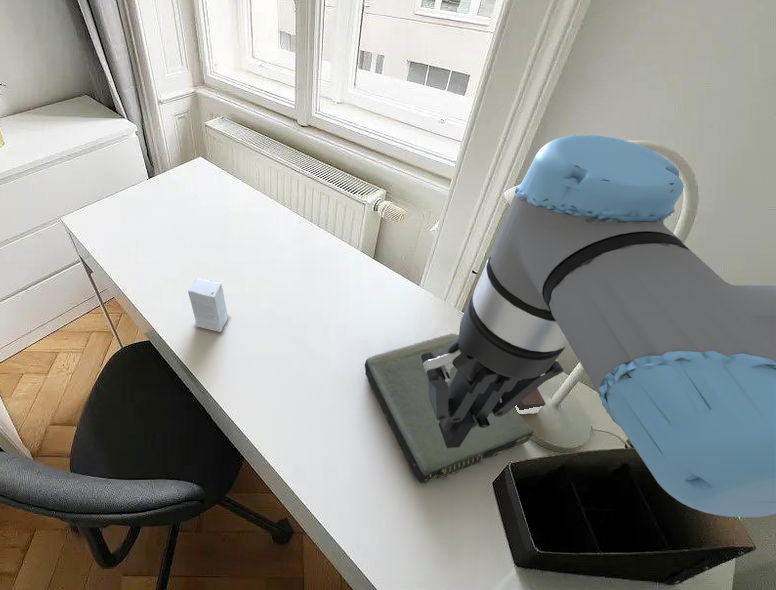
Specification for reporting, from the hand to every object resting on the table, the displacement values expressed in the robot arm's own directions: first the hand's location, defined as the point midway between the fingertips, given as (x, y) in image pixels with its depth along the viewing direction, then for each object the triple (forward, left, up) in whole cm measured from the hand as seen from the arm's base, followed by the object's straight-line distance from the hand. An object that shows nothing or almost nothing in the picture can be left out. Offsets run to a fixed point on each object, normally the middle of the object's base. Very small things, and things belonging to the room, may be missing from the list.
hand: (448, 435), depth 49 cm
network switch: (+15, -9, -25) cm, 30 cm away
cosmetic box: (+36, +34, -25) cm, 55 cm away
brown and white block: (+15, -25, -24) cm, 38 cm away
